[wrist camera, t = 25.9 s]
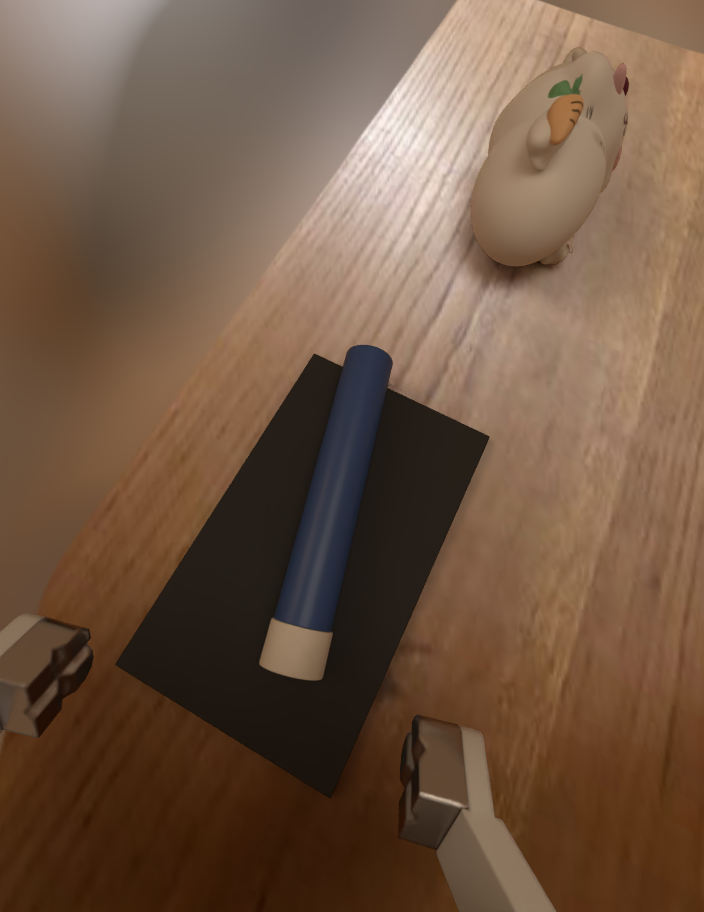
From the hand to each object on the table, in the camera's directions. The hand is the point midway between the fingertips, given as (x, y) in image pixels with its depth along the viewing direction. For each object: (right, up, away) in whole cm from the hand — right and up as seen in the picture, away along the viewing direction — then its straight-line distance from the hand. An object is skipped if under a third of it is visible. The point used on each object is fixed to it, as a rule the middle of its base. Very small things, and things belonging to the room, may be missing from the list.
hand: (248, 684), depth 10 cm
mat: (+1, +1, +13) cm, 13 cm away
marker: (+4, +11, +14) cm, 19 cm away
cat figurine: (+15, +24, +21) cm, 35 cm away
